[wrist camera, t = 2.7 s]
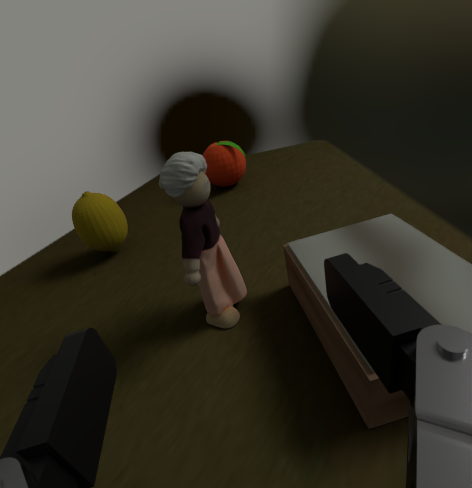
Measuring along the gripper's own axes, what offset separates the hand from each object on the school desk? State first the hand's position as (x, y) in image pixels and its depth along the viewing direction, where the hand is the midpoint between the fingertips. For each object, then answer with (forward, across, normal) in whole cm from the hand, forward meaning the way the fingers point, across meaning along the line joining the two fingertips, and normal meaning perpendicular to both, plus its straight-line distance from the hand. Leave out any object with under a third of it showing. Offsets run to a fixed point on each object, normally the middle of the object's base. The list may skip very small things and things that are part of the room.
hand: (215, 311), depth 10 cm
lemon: (+26, +12, +9) cm, 31 cm away
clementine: (+38, -5, +9) cm, 40 cm away
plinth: (+6, -10, +10) cm, 15 cm away
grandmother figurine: (+12, 0, +10) cm, 15 cm away
